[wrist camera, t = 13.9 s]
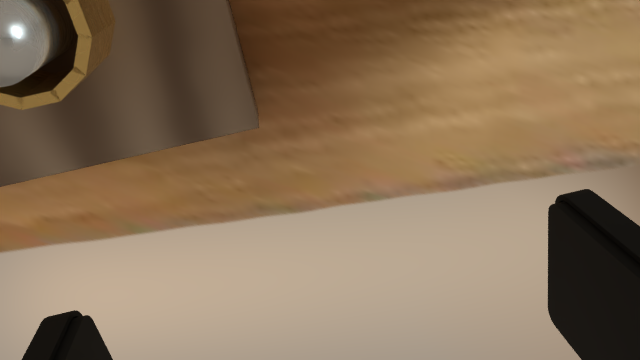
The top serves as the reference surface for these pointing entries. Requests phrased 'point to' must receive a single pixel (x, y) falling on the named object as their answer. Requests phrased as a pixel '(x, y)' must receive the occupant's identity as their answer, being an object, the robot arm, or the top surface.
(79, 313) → the robot arm
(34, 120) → the walnut stand
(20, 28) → the piston post
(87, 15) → the brass ring
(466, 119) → the top surface
